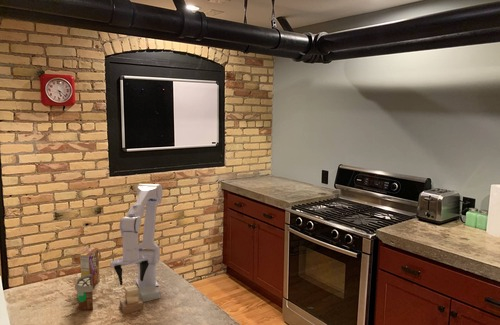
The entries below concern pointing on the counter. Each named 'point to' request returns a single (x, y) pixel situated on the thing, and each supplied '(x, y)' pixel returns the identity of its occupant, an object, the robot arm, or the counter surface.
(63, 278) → the counter surface
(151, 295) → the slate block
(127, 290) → the maple cube
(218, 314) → the counter surface
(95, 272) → the candy box
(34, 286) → the counter surface
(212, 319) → the counter surface
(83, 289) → the food container
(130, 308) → the walnut block
